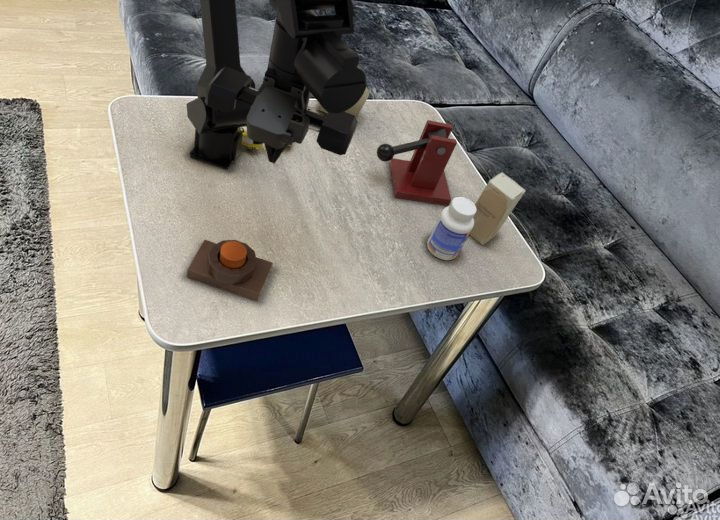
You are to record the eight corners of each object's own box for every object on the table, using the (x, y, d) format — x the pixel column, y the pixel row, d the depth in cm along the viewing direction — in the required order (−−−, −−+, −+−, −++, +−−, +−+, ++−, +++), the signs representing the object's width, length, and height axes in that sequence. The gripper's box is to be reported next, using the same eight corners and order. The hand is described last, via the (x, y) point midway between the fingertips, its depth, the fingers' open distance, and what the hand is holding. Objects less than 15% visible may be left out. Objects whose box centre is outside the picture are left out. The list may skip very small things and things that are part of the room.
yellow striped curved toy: (246, 156, 96) (246, 135, 95) (233, 144, 101) (232, 124, 99) (301, 150, 101) (302, 130, 99) (286, 139, 106) (287, 120, 104)
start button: (215, 263, 78) (216, 255, 76) (224, 246, 80) (226, 237, 79) (240, 272, 78) (241, 263, 76) (248, 254, 80) (250, 246, 79)
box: (460, 227, 100) (487, 179, 92) (473, 217, 103) (501, 170, 95) (484, 246, 99) (513, 199, 91) (497, 236, 101) (527, 189, 93)
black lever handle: (379, 167, 99) (375, 153, 97) (377, 155, 101) (374, 142, 99) (449, 150, 98) (447, 136, 96) (446, 139, 100) (443, 125, 98)
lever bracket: (394, 197, 101) (417, 143, 92) (389, 163, 107) (409, 109, 98) (448, 205, 103) (475, 153, 95) (440, 172, 109) (464, 120, 101)
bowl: (343, 138, 112) (311, 118, 111) (362, 106, 117) (331, 87, 116) (364, 104, 103) (329, 82, 103) (382, 71, 109) (349, 50, 108)
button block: (186, 278, 79) (187, 261, 76) (204, 246, 83) (205, 229, 80) (257, 302, 79) (261, 286, 77) (271, 269, 83) (275, 253, 81)
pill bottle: (458, 264, 94) (483, 222, 87) (427, 257, 93) (449, 214, 86) (455, 239, 98) (479, 197, 91) (425, 233, 97) (446, 190, 90)
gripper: (189, 64, 64) (182, 171, 75) (351, 125, 64) (320, 222, 76) (228, 21, 71) (216, 125, 83) (372, 76, 72) (341, 171, 83)
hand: (272, 161), depth 81 cm, fingers closed
